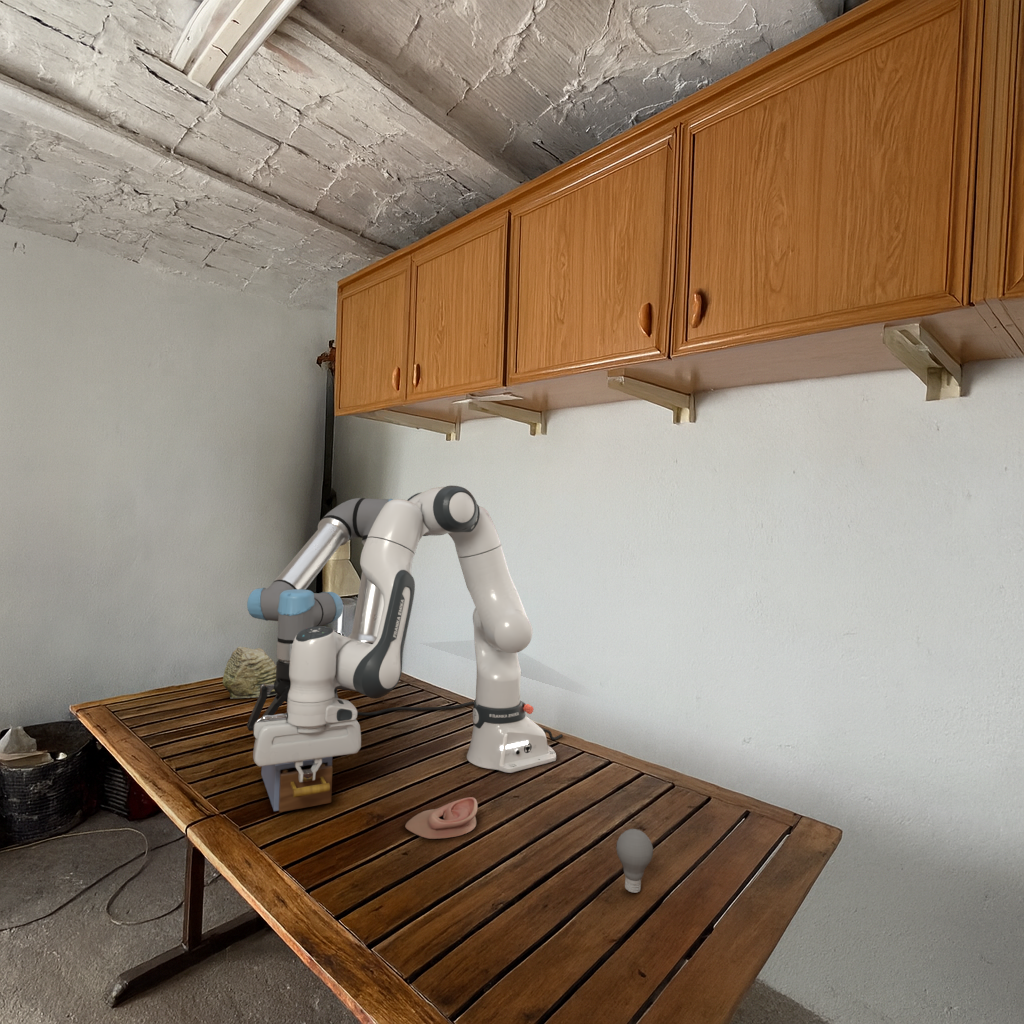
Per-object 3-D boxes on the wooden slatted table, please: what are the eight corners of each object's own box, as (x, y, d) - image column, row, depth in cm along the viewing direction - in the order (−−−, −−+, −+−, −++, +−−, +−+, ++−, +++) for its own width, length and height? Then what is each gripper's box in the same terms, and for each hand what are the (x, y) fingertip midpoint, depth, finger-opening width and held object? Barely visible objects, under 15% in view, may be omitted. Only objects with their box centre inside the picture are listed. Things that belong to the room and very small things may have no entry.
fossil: (218, 695, 195) (220, 647, 195) (278, 685, 208) (279, 640, 207) (228, 703, 189) (230, 653, 188) (289, 692, 201) (290, 645, 201)
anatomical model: (399, 813, 120) (420, 787, 131) (398, 834, 120) (419, 806, 131) (467, 823, 117) (482, 796, 128) (466, 845, 117) (481, 815, 128)
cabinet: (330, 800, 132) (332, 756, 132) (273, 811, 127) (275, 765, 127) (312, 766, 148) (313, 727, 148) (261, 774, 143) (262, 734, 143)
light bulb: (610, 879, 108) (613, 822, 108) (644, 879, 109) (647, 822, 109) (619, 902, 102) (622, 840, 102) (655, 901, 103) (658, 840, 103)
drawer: (337, 814, 125) (338, 778, 125) (284, 825, 120) (285, 787, 120) (313, 769, 144) (314, 738, 144) (266, 777, 140) (268, 744, 139)
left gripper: (239, 668, 133) (235, 771, 134) (351, 658, 145) (347, 753, 145) (235, 659, 140) (231, 757, 140) (342, 651, 151) (339, 742, 152)
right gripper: (256, 722, 117) (252, 796, 117) (365, 710, 127) (361, 778, 127) (252, 711, 122) (248, 782, 123) (357, 700, 132) (353, 766, 132)
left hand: (290, 755), depth 143 cm, fingers closed on cabinet, 11 cm apart
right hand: (306, 780), depth 125 cm, fingers closed
